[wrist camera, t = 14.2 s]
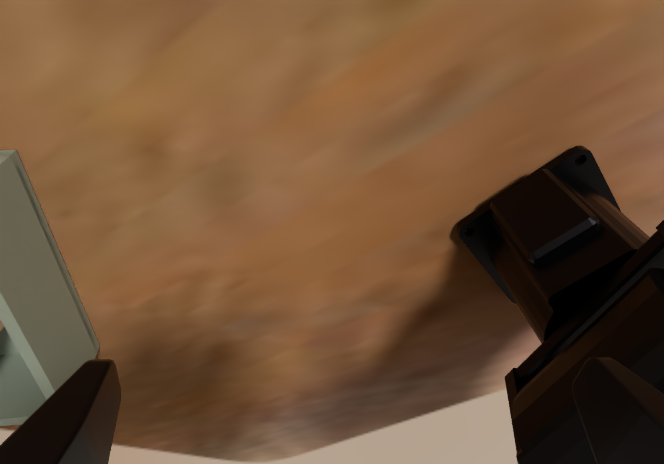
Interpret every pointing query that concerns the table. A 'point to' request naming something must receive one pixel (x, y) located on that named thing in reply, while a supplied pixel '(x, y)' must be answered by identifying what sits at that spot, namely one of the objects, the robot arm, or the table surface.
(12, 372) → the box
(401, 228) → the table surface
